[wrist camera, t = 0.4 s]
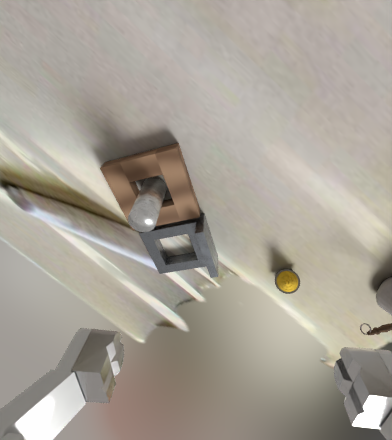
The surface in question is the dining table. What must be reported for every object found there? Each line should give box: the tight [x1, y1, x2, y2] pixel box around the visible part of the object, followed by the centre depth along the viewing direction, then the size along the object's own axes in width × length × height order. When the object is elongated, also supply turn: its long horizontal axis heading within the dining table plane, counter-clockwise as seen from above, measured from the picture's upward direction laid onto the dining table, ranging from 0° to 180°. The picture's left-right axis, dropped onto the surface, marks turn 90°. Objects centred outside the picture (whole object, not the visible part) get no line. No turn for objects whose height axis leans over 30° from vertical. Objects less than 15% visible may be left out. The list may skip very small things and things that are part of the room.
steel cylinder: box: [128, 177, 166, 232], centre depth 45 cm, size 4×4×11 cm
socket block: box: [100, 143, 200, 231], centre depth 49 cm, size 14×14×2 cm
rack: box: [139, 214, 218, 278], centre depth 55 cm, size 12×14×6 cm
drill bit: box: [275, 269, 300, 294], centre depth 58 cm, size 5×5×10 cm
